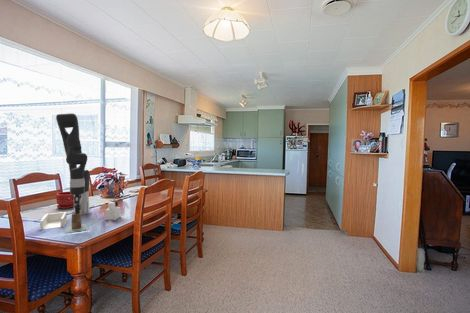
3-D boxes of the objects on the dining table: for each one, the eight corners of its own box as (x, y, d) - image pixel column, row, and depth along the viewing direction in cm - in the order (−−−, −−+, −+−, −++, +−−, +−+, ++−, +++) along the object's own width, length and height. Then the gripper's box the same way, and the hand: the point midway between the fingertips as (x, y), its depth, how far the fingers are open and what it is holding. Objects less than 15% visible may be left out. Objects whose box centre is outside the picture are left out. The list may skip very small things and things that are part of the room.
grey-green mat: (87, 225, 146) (87, 224, 146) (86, 230, 137) (85, 229, 137) (67, 228, 141) (67, 226, 141) (65, 233, 132) (65, 231, 132)
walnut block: (81, 226, 142) (81, 211, 142) (80, 228, 138) (80, 213, 138) (72, 227, 140) (72, 212, 140) (71, 229, 136) (71, 214, 136)
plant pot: (60, 210, 177) (60, 195, 176) (53, 207, 184) (53, 193, 184) (79, 207, 188) (79, 192, 187) (72, 204, 195) (72, 190, 194)
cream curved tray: (67, 220, 155) (67, 211, 155) (64, 228, 141) (64, 218, 141) (45, 223, 149) (44, 214, 149) (39, 231, 135) (38, 221, 135)
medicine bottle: (110, 216, 165) (110, 200, 165) (120, 217, 165) (120, 200, 164) (105, 219, 158) (105, 202, 157) (115, 220, 158) (115, 203, 157)
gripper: (84, 187, 134) (84, 214, 135) (85, 183, 146) (85, 208, 147) (68, 188, 130) (69, 216, 131) (71, 184, 142) (71, 209, 143)
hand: (78, 211), depth 139 cm, fingers open, 8 cm apart
